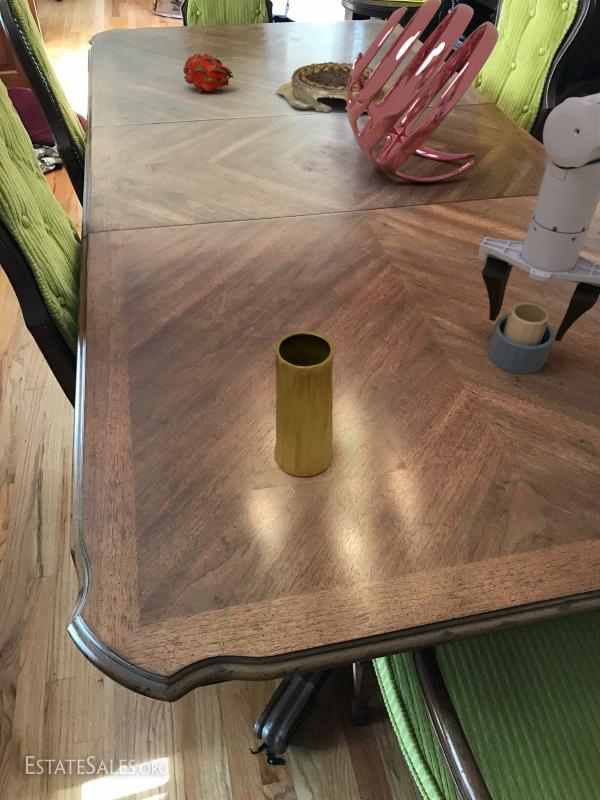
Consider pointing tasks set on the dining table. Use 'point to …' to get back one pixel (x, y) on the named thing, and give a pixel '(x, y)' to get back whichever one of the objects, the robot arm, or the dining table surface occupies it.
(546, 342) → the bowl
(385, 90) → the pie
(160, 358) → the dining table surface
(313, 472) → the vase
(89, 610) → the dining table surface
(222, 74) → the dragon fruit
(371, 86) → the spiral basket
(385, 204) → the dining table surface
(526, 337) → the cup
